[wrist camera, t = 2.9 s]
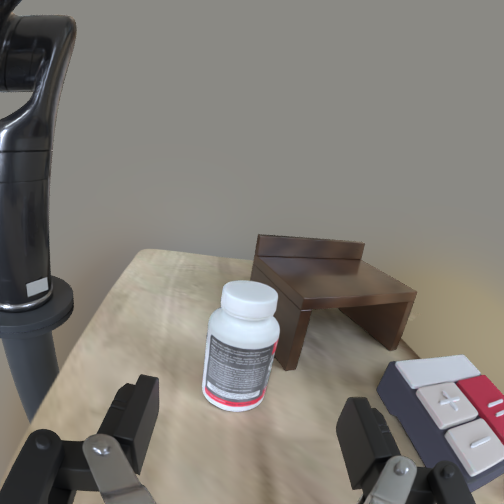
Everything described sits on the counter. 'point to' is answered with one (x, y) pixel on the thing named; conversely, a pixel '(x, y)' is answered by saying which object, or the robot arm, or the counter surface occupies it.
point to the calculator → (448, 414)
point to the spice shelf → (328, 290)
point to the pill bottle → (240, 346)
